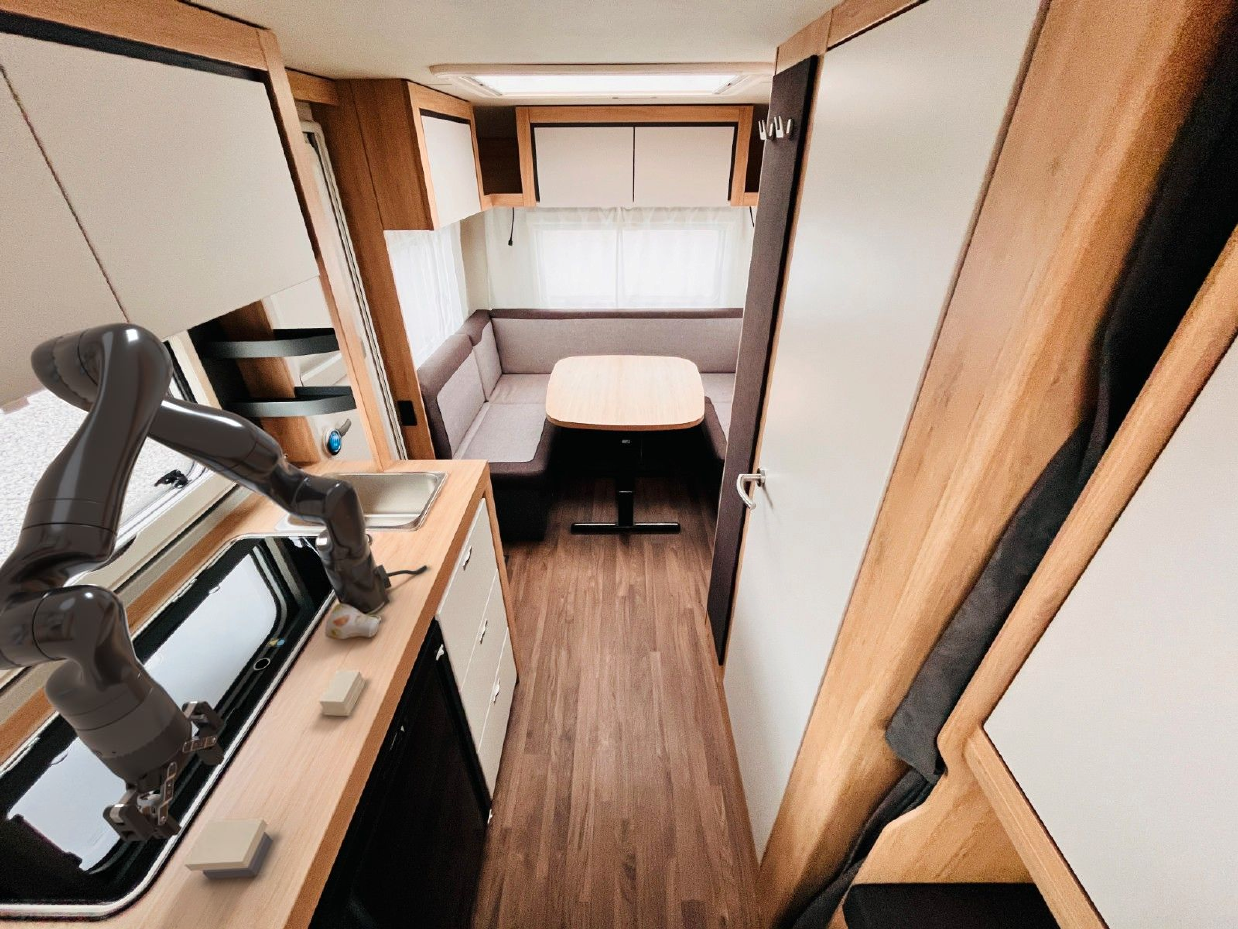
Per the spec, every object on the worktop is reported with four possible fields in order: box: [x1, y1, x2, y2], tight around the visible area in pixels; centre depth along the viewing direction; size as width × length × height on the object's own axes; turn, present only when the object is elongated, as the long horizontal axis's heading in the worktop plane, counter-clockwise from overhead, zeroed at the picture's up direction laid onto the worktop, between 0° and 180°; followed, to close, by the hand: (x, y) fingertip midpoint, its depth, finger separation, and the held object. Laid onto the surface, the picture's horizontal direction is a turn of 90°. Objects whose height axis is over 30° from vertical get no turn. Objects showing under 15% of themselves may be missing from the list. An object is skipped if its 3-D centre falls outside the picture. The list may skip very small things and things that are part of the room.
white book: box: [183, 818, 268, 872], centre depth 71 cm, size 8×5×2 cm
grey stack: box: [201, 831, 273, 880], centre depth 73 cm, size 7×4×4 cm
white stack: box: [318, 669, 366, 717], centre depth 94 cm, size 7×4×4 cm
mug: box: [324, 603, 382, 640], centre depth 106 cm, size 8×10×10 cm
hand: (195, 795), depth 67 cm, fingers open, 8 cm apart
